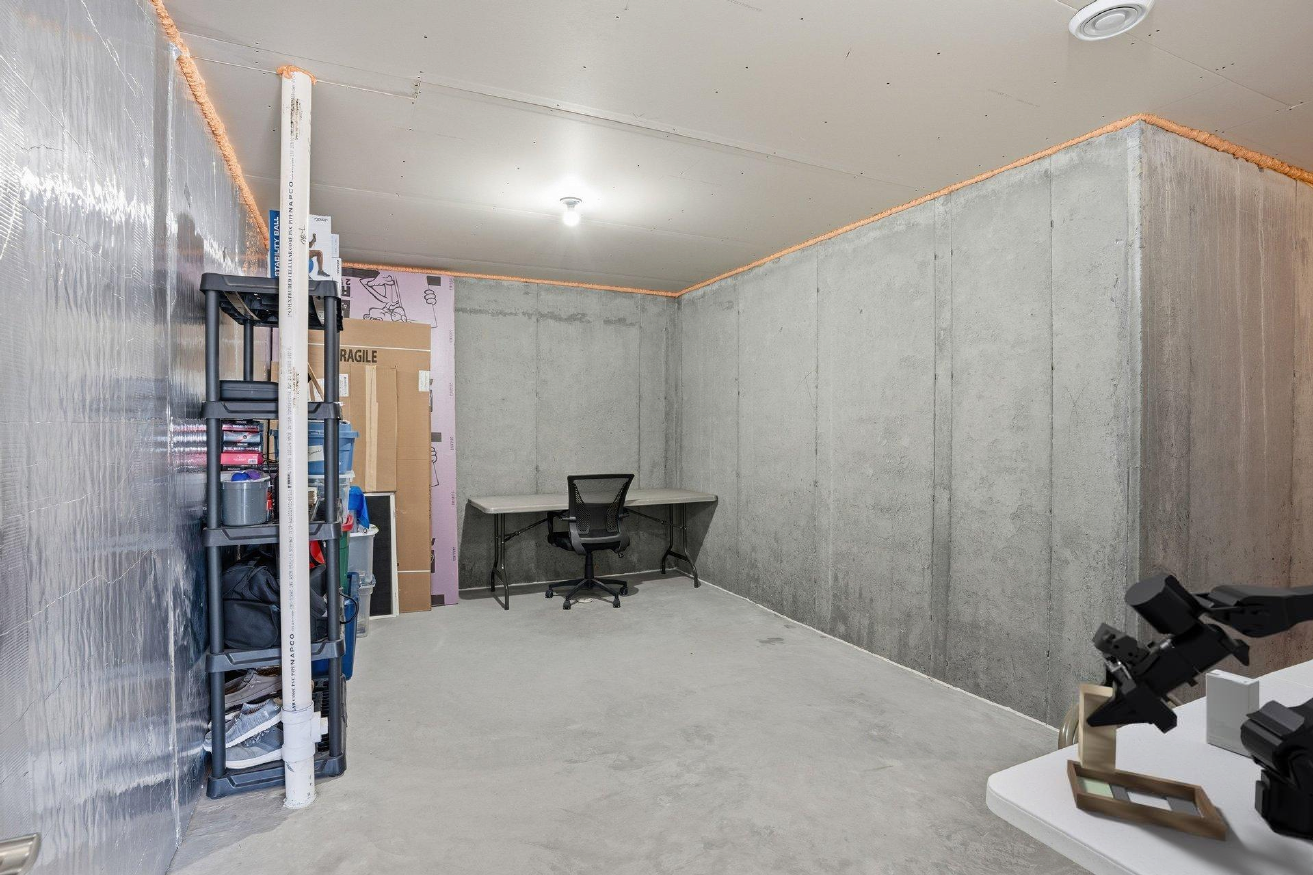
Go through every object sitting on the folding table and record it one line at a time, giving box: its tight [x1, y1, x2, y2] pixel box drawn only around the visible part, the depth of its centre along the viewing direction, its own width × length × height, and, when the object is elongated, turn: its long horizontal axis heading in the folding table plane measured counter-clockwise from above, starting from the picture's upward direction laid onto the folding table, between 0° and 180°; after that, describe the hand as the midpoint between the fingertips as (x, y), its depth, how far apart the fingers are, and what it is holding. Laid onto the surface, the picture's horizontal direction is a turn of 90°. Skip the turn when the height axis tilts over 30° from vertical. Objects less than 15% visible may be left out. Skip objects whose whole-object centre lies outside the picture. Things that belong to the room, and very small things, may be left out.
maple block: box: [1077, 682, 1118, 774], centre depth 96 cm, size 4×4×11 cm
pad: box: [1077, 776, 1115, 798], centre depth 96 cm, size 4×8×1 cm, turn 154°
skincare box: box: [1205, 669, 1260, 758], centre depth 111 cm, size 6×4×12 cm
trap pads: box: [1109, 783, 1202, 817], centre depth 93 cm, size 10×8×1 cm
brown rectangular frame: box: [1066, 759, 1227, 842], centre depth 94 cm, size 16×10×2 cm, turn 64°
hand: (1085, 717), depth 96 cm, fingers closed on maple block, 4 cm apart
